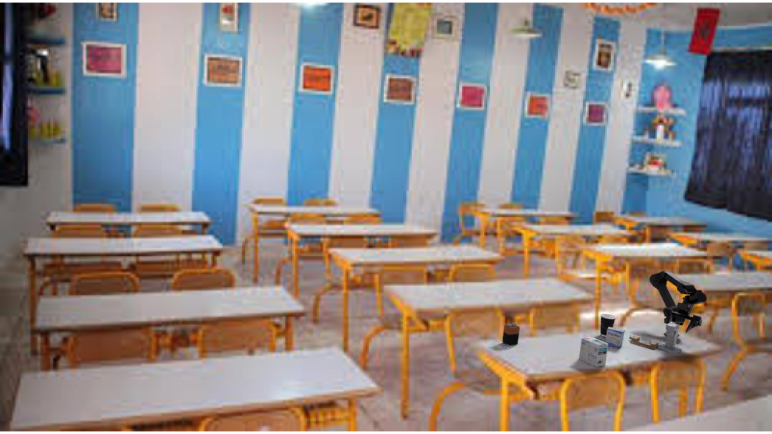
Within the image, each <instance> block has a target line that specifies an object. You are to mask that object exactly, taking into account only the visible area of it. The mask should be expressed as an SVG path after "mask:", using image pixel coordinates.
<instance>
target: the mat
mask: <svg viewBox="0 0 772 434" xmlns="http://www.w3.org/2000/svg"><path fill="white" fill-rule="evenodd" d="M657 349H658V350H661V351H664V352H668V353H671V354H675V355H677V354H679V353H680V352H681V351H683V348H681V347H678V346H676V347H675V349H674V350H671V349H668V348H665V343H663V344H660V345H658V347H657Z"/></svg>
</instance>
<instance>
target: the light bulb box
mask: <svg viewBox="0 0 772 434" xmlns="http://www.w3.org/2000/svg"><path fill="white" fill-rule="evenodd" d="M608 349H609V345H608V343H605V341H602V340H600V339H598V338H595V337H593V336H585V337H581V341H580V350H579V355H578V360H580V361H582V362H585V363H587V364H589V365H591V366H593V367H596V368H598V367H602V366H606V365H607V364H606V363H607V356H608Z"/></svg>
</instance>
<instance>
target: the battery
mask: <svg viewBox="0 0 772 434" xmlns="http://www.w3.org/2000/svg"><path fill="white" fill-rule="evenodd" d="M520 329H521V327H520V326H519V325H518V324H516V323H513V324H511V323H507V324H504V326H503V333H502V340H501V341H502V343H503V344H504V345H506V346H513V345H515V346H516V345H518V344H519V337H520V331H521V330H520Z"/></svg>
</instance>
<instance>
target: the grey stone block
mask: <svg viewBox="0 0 772 434" xmlns="http://www.w3.org/2000/svg"><path fill="white" fill-rule="evenodd" d="M679 328H680V325H679V324H678V323H674V322H670V323H668V324H666V325H665V332H666V335H665V336H666V339H665V343H664V344H665V348H668V349H671V350H674V349H675V347H677V346H676V345H677V341H678V337H677V335H678V334H679Z"/></svg>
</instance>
